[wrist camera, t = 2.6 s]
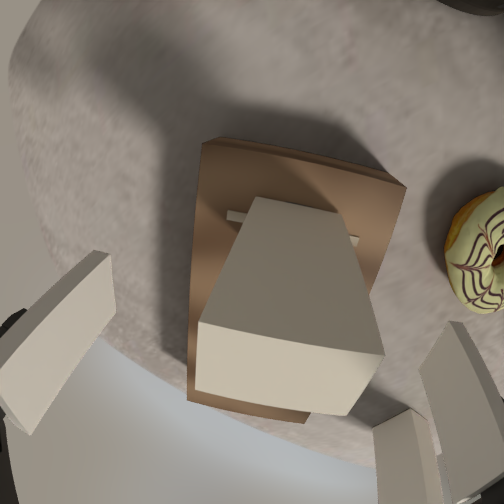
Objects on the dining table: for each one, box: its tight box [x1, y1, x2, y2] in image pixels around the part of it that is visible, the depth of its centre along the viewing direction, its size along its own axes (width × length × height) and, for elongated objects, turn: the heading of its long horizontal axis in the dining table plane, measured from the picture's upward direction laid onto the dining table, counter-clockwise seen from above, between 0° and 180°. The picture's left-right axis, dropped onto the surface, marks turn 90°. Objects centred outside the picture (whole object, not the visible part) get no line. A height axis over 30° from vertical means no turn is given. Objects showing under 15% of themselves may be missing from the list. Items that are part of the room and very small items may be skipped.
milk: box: [372, 408, 444, 504], centre depth 22 cm, size 6×6×22 cm
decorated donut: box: [444, 186, 504, 314], centre depth 19 cm, size 10×11×4 cm
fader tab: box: [195, 196, 385, 416], centre depth 13 cm, size 3×5×11 cm, turn 81°
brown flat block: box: [187, 137, 407, 424], centre depth 23 cm, size 24×12×4 cm, turn 171°
